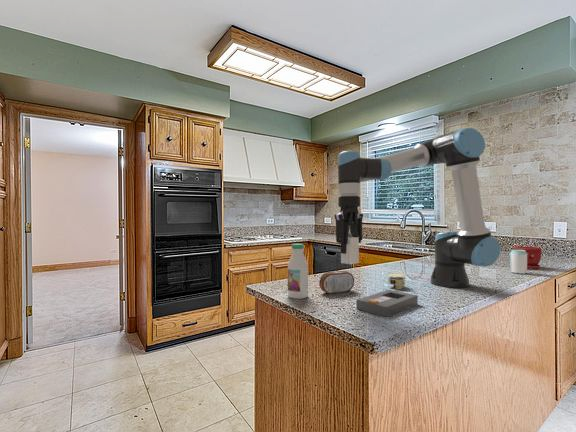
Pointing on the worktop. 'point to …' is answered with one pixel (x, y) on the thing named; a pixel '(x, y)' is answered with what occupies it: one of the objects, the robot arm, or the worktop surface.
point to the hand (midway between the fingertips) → (349, 261)
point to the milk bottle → (297, 273)
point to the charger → (353, 249)
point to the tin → (336, 282)
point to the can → (518, 261)
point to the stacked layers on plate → (397, 281)
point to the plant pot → (531, 261)
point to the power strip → (387, 302)
